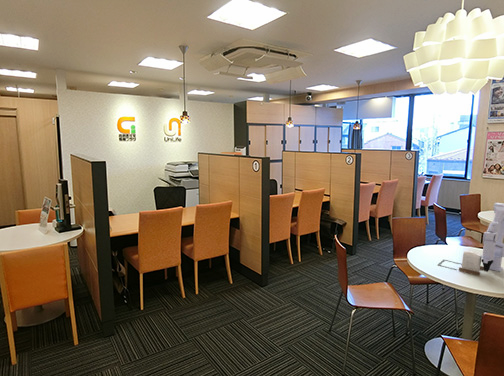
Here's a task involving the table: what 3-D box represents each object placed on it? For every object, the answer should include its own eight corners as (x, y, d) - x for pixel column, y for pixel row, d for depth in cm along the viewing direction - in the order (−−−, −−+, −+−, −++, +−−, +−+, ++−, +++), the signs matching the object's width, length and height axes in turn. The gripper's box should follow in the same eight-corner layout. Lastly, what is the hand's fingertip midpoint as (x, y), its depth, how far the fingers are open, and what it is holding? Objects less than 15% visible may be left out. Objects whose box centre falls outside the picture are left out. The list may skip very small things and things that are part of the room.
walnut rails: (464, 264, 211) (464, 262, 210) (483, 269, 203) (484, 266, 202) (458, 270, 201) (459, 267, 201) (479, 275, 193) (479, 272, 193)
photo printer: (481, 272, 199) (483, 253, 197) (477, 273, 197) (480, 255, 195) (463, 266, 208) (465, 249, 206) (460, 267, 205) (462, 250, 204)
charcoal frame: (443, 259, 220) (443, 259, 220) (462, 264, 211) (462, 264, 211) (437, 265, 210) (437, 264, 210) (456, 270, 201) (456, 269, 201)
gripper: (483, 246, 202) (480, 266, 204) (478, 251, 192) (476, 272, 194) (496, 249, 197) (494, 269, 199) (492, 254, 187) (490, 275, 189)
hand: (486, 270), depth 196 cm, fingers closed
